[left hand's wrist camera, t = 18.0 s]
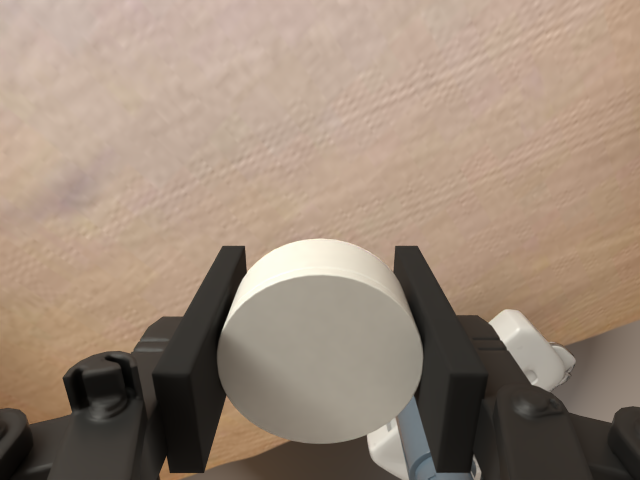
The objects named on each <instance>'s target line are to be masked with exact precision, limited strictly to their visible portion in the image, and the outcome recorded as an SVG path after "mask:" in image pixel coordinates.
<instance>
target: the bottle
mask: <svg viewBox="0 0 640 480" xmlns="http://www.w3.org/2000/svg"><path fill="white" fill-rule="evenodd" d="M395 419H396V423H397V428H398V432H399V437H400V441H401V446H402V450H403V455H404V459H405V464H406V468H407V473H408V477H409V480H475V476H476V471H477V468H476V464H475V461H474V459H473V461H472V467H471V472H470V473H436V470H435V467H434V463H433V460H432V456H431V453H430V449H429V446H428V442H427V439H426V436H425V432H424V429H423V425H422V422H421V418H420V415H419V411H418V408H417V404H416V401H415V398H414V395H413V397H412V399H411V400H410V402H409V403H408V404H407V405H406V407H405V408H404V409H403V410H402V411H401V412H400V413H399V414H398V415H397V416H396V417H395Z"/></svg>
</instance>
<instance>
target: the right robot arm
mask: <svg viewBox="0 0 640 480" xmlns="http://www.w3.org/2000/svg"><path fill="white" fill-rule="evenodd" d="M489 324H490V325H492V327H493V328H494V330H495V331H496V333H497V334H498V335H499V337H500V340H502V341H503V343H504V344H505V346H506V347H507V350H509V352H510V353H511V355H512V356H513V358H514V359H515V361H516V362H517V364H518V365H519V367H520V368H521V370H522V371H523V373H524V374H525V375H526V377H527V378H528V380H529V381H530V383H531V384H532V385H535V386H538V387H540V388H542V389H544V390H546V391H548V392H550V393H551V392H552V391H553V390H554V389H555V388H556V387H558V386H559V385H562V384H563V383H565V382H566V381H567V380H568V379H569V378H570V377H571V374H570V372H571V371H572V370H573V368H574V366H575V362H576V361H575V358H574V355H573V354H572V353H571V352H570V351H569V350H567V349H566V348H565V347H564V346H563V345H561V344H559V343H556V342H548V341H547V340H546V339H545V338H544V337H543V335H542V334H541V333H540V332H539V331H538V330H537V328H536V327H535V326H534V325H533V324H532V323H531V322H530V321H529V320H528V319H527V318H526V317H525V316H524V315H523V314H522V313H521V312H520V311H519V310H511V309H505V310H503V311H502V312H500V313H499V314H498V315H497V316H496V317H494V318H493V319H492V320H491V321H490V322H489ZM367 440H368V447H369V452H370V455H371V457H372V459H373V461H374V462H375V463H376V464H378V465H379V466H380V467H382V468H383V469H385V470H386V471H388V472H390V473H391V474H393V475H395V476H397V477H398V478H400V479H402V480H409V477H408V473H407V468H406V464H405V459H404V455H403V450H402V446H401V441H400V437H399V432H398V428H397V423H396V419H395V418H394V419H392V420H391V421H390V422H389V423H387V424H386V425H384V426H382V427H381V428H379V429H377V430H376V431H373V432H371V433H369V434H367ZM473 459H474V461H475V464H476V468H477V471H476V476H475V480H480V477H481V470H480V468H479V465H478V463H477V460H476V458H475V455H474V456H473Z"/></svg>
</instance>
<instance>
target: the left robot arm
mask: <svg viewBox="0 0 640 480" xmlns="http://www.w3.org/2000/svg"><path fill="white" fill-rule="evenodd" d="M246 274H247V269H246V255H245V246H222V248H221V250H220V252H219V254H218V255H217V257H216V259H215V261H214V263H213V264H212V266H211V268H210V270H209V272H208V273H207V275H206V277H205V279H204V281H203V282H202V284H201V286H200V288H199V289H198V291H197V293H196V295H195V297H194V298H193V300H192V302H191V304H190V306H189V307H188V309H187V311H186V313H185V315H184V316H183V317H162V318H160V319H159V320H158V321H156V322H155V323H154V324H152V325H151V326H149V327H148V329H147V330H146V332H145V333H144V335H143V336H142V338H141V339H140V342H138V344H137V345H136V347H135V348H134V352H132V353H131V354H130V353H126V352H122V351H110V352H104V353H100V354H96V355H92V356H90V357H88V358H86V359H84V360H81V361H80V362H78V363H77V364H75V365H74V366H73V367H71V368H70V369H69V370H68V371H67V373H66V374H65V375H64V377H63V381H64V385H65V388H66V392H67V395H68V399H69V402H70V406H71V409H72V413H71V414H70V415H67V416H64V417H60V418H56V419H52V420H47V421H43V422H39V423H34V424H30V425H29V423H28V420H27V417H26V415H25V414H24V413H23V412H21V411H20V410H18V409H11V408H5V409H0V480H160V477H159V473H160V471H161V468H162V465H163V463H164V460H165V458H166V455H167V460H168V465H169V471H170V473H204V471H205V468H206V464H207V461H208V457H209V454H210V450H211V447H212V443H213V440H214V436H215V433H216V430H217V426H218V423H219V419H220V416H221V412H222V409H223V405H224V402H225V398H226V393H225V391H224V389H223V387H222V384H221V381H220V378H219V374H218V366H217V348H218V341H219V338H220V335H221V332H222V330H223V327H224V324H225V322H226V319H227V316H228V314H229V311H230V308H231V306H232V303H233V300H234V298H235V295H236V292H237V290H238V287H239V285H240V283H241V282H242V280H243V278H244V277H245V275H246ZM394 274H395V276H396V278H397V279H398V281H399V282H400V285H401V287H402V289H403V291H404V294H405V297H406V299H407V302H408V305H409V307H410V310H411V312H412V315H413V318H414V320H415V323H416V326H417V328H418V331H419V334H420V337H421V341H422V344H423V352H424V359H423V369H422V376H421V380H420V382H419V385H418V388H417V390H416V392H415V394H414V398H415V401H416V404H417V408H418V411H419V415H420V418H421V422H422V425H423V429H424V432H425V436H426V439H427V442H428V446H429V449H430V453H431V456H432V460H433V463H434V467H435V470H436V473H470V472H471V467H472V461H473V456H474V455H475V458H476V460H477V463H478V465H479V468H480V470H481V477H480V480H640V407H634V406H632V407H625V408H621V409H620V410H619V411H617V412H616V413H615V415H614V418H613V421H612V423H609V422H605V421H600V420H596V419H592V418H587V417H583V416H579V415H576V414H572V413H569V412H568V411H567V409H566V407H565V406H564V404H563V403H562V401H560V400H559V399H558V398H557V397H556V396H554V395H553V394H552V393H550V392H548V391H546V390H544V389H542V388H540V387H538V386H535V385H532V384H531V383H530V381H529V380H528V378H527V377H526V375H525V374H524V373H523V371H522V370H521V368H520V367H519V365H518V364H517V362H516V361H515V359H514V358H513V356H512V355H511V353H510V352H509V350H507V347H506V346H505V344H504V343H503V341H502V340H500V337H499V335H498V334H497V333H496V331H495V330H494V328H493V327H492V325H490V324H489V323H487V322H486V321H485V320H483V319H482V318H480V317H479V316H478V315H456V314H455V312H454V311H453V309H452V307H451V305H450V303H449V302H448V300H447V298H446V296H445V294H444V293H443V291H442V289H441V287H440V285H439V284H438V282H437V280H436V278H435V276H434V275H433V273H432V271H431V269H430V267H429V266H428V264H427V262H426V260H425V259H424V257H423V255H422V253H421V251H420V250H419V248H418V246H395V259H394Z"/></svg>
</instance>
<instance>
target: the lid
mask: <svg viewBox="0 0 640 480" xmlns="http://www.w3.org/2000/svg"><path fill="white" fill-rule="evenodd" d="M423 359H424V352H423V344H422V341H421V337H420V334H419V331H418V328H417V326H416V323H415V320H414V318H413V315H412V312H411V310H410V307H409V305H408V302H407V299H406V297H405V294H404V291H403V289H402V287H401V285H400V282H399V281H398V279H397V278H396V276H395V274H394V273H393V272H392V271H391V269H390V268H389V267H388V266H387V265H386V264H385V263H384V262H383V261H382V260H380V259H379V258H378V257H377V256H375V255H374V254H372V253H371V252H369V251H367V250H365V249H363V248H361V247H359V246H356V245H354V244H351V243H348V242H344V241H339V240H333V239H308V240H301V241H297V242H293V243H290V244H286V245H284V246H282V247H279V248H277V249H275V250H273V251H272V252H270V253H268V254H267V255H265V256H264V257H263V258H261V259H260V260H259V261H258V262H256V263H255V264H254V266H253V267H252V268H251V269H250V270H249V271H248V272H247V274H246V275H245V277H244V278H243V280H242V282H241V283H240V285H239V287H238V290H237V292H236V295H235V298H234V300H233V303H232V306H231V308H230V311H229V314H228V316H227V319H226V322H225V324H224V327H223V330H222V332H221V335H220V338H219V341H218V348H217V366H218V374H219V378H220V381H221V384H222V387H223V389H224V391H225V393H226V395H227V397H228V398H229V399H230V401H231V402H232V404H233V405H234V406H235V407H236V409H237V410H238V411H239V412H240V413H241V414H242V415H243V416H244V417H246V418H247V419H248V420H249V421H250V422H252V423H253V424H255V425H256V426H258V427H259V428H261V429H263V430H265V431H267V432H269V433H271V434H274V435H276V436H279V437H281V438H285V439H289V440H292V441H298V442H303V443H316V444H323V443H336V442H343V441H348V440H352V439H356V438H359V437H362V436H364V435H367V434H369V433H371V432H373V431H376V430H377V429H379V428H381V427H382V426H384V425H386V424H387V423H389V422H390V421H391V420H392V419H394V418H395V417H396V416H397V415H398V414H399V413H400V412H401V411H402V410H403V409H404V408H405V407H406V405H407V404H408V403H409V402H410V400H411V399H412V397H413V395H414V394H415V392H416V390H417V388H418V385H419V382H420V380H421V376H422V369H423Z"/></svg>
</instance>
